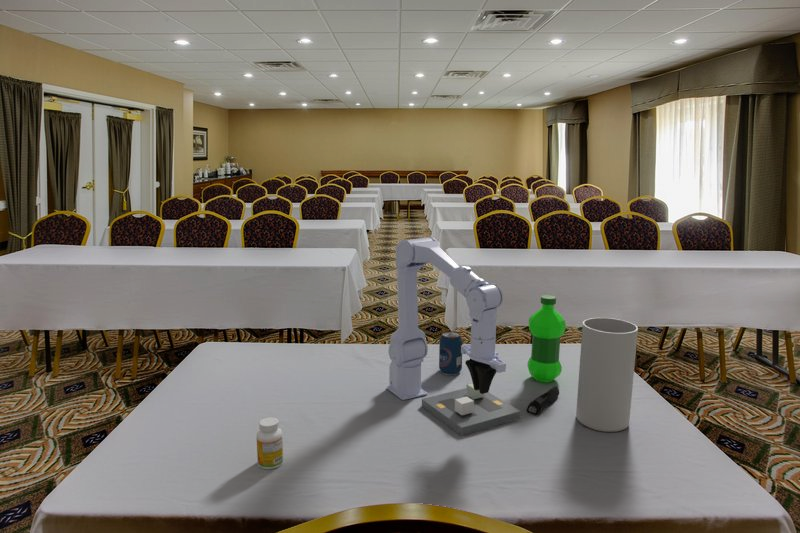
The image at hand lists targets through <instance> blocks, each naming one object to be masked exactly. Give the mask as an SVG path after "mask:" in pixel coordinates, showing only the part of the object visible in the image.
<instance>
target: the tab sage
mask: <svg viewBox="0 0 800 533" xmlns="http://www.w3.org/2000/svg"><path fill="white" fill-rule="evenodd" d="M466 388H467V396H469V397H471V398H472V399H477V398H481V397H485V393H484V394H481V393H480V391H479V390H474V386H473V382H472V383H469V384H468V383H467V384H466Z"/></svg>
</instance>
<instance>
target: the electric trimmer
mask: <svg viewBox="0 0 800 533" xmlns="http://www.w3.org/2000/svg"><path fill="white" fill-rule="evenodd" d="M559 395H560V388H559V387H558V386H557V385H555V386H553V387H552V388H550V389H548V390H547V391H546V392H544V393H543V394H541V395H539V396H537V397H536V398H535V399H534V400H532V401H530V403H529V404H528V405H527V407H526V408H525V409H526V410H525V413H527V414H528V415H529V414H530V415H533V416H539V415H540V414H541V412H542V410H543V409H544V408H545V407H546V406H547V405H552V404H553V403H554V402H555V400H556V399H557V398H558V397H559Z"/></svg>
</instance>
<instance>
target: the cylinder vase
mask: <svg viewBox="0 0 800 533" xmlns="http://www.w3.org/2000/svg"><path fill="white" fill-rule="evenodd" d="M638 330H639V327H638V326H637V325H636V324H635V323H632V322H630V321H627V320H624V319H618V318H612V317H592V318H587V319H584V320H583V321H582V329H581V343H580V344H581V345H580V354H579V355H580V358H579V370H578V382H577V384H578V386H577V397H576V398H577V399H576V409H575V417H576V419H577V421H578V422H580V424H582V425H583V426H585V427H587V428H589V429H591V430H595V431H598V432H606V433H616V432H621V431H623V430H625V429H627V427H629V425H630V418H631V417H630V416H631V408H632V399H633V398H632V396H633V387H634V386H633V384H634V378H635V377H634V374H635V366H636V354H637V353H636V352H637V343H638Z"/></svg>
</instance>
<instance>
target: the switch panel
mask: <svg viewBox="0 0 800 533" xmlns="http://www.w3.org/2000/svg"><path fill="white" fill-rule="evenodd" d="M463 397H469V396H467V387H466V388H465V387H464V388H461V389H457V390H453V391H449V392H445V393H440V394H437V395H432V396H428V397H424V398H422V399H421V407H423V408H424V409H425V410H426V411H427V412H429V413H430V414H432V415H433V416H434V417H435V418H437V419H439V420H440V421H441V422H443V423H444V424H446V425H447V426H448V427H449V428H450V429H452V430H454V431H455V432H456V433H458V434H459V435H460V436H464V435H465V436H466V435H468V434H471V433H476V432H479V431H482V430H486V429H488V428H491V427H492V428H493V427H495V426H499V425H502V424H505V423H506V424H507V423H509V422H512V421H516V420H519V419H521V410H520V409H518V408H516V407H514V406H513V405H512V404H510V403H507V402H506V401H503V399H500V398H499V397H497V396H496V395H494V394H492V393H491V392H488V393H485V397H481V398H477V399H472V398H471V397H469V398H470V399H472V400H473V401H474V412H473V413H469V414H465V415H460V414H459V413H458V412H456V411H455V399H459V398H463Z"/></svg>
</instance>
